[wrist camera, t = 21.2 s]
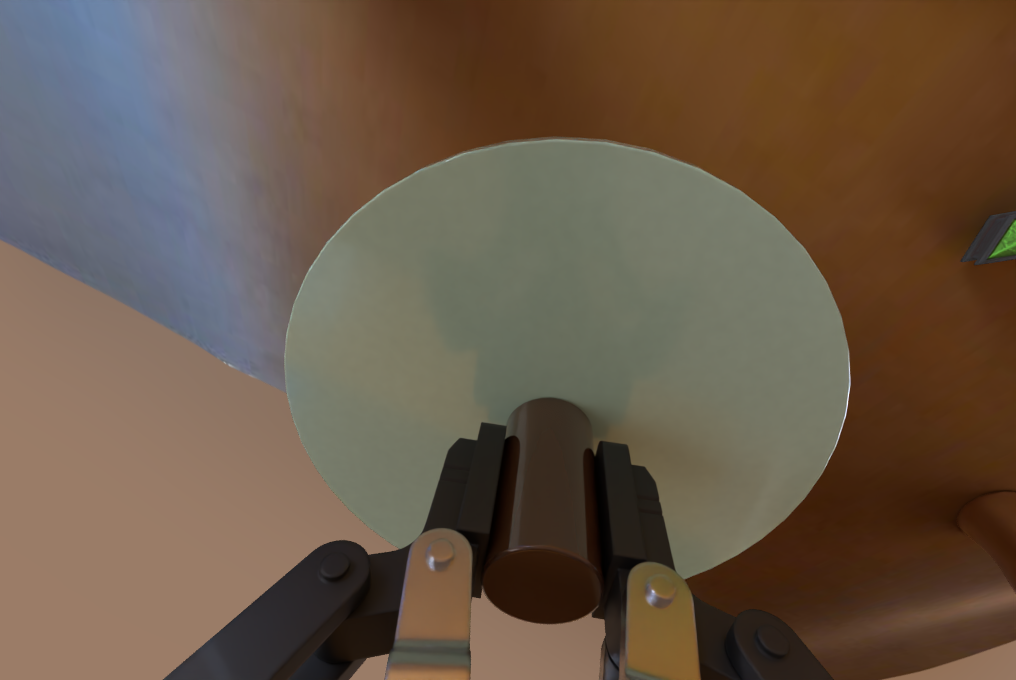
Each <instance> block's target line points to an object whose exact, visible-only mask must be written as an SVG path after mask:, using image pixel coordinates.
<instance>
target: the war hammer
mask: <svg viewBox="0 0 1016 680" xmlns="http://www.w3.org/2000/svg"><path fill="white" fill-rule="evenodd" d="M1013 259H1016V211H1013V212H1008V213H1003V214H997V215H992V216H989V218H988V219H987V221H986V222H985V224H984V226H983V227H982V229H981V230H980V232H979V233H978V235H977V236H976V238H975V239H974V241H973V242H972V244H971V246H970V247H969V249H968V250H967V252H966V253H965V255H964V256H963V258H962V259H961V261H960V262H966V261H972V260H977V261H976V262H975V264H974V265H980V264H987V263H994V262H1000V261H1007V260H1013Z"/></svg>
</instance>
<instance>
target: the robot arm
mask: <svg viewBox="0 0 1016 680" xmlns="http://www.w3.org/2000/svg"><path fill="white" fill-rule="evenodd" d="M506 430H507V426H505V425H498V424H492V423H485V422H481V426H480V430H479V434H478V438H477V440H472V439H465V438H459V439H458V440H457V441H456V442H455V443H454V444H453V445H452V446H451V447H450V448H449V449H448V452H447V455H446V459H445V462H444V466H443V468H442V472H441V475H440V479H439V481H438V485H437V488H436V491H435V495H434V498H433V501H432V504H431V508H430V511H429V514H428V517H427V521H426V524H425V527H424V529H423V531H422V532H421V534H420V535H419V536H418V537H417V538H416V539H415V540H414V541H413V542H412V543H411V544H409V545H408V546H406V547H404V548H402V549H399V550H396V551H391V552H385V553H378V554H371V555H368V554H367V552H366V551H365V549H364V548H363V547H361V546H360V545H359V544H357V543H354V542H351V541H346V540H339V541H333V542H329V543H327V544H324V545H322V546H320V547H318V548H317V549H315V550H314V551H313V552H312V553H310V554H309V555H308V556H307V557H306V558H304V559H303V560H302V561H301V562H300V563H299V564H298V565H296V566H295V567H294V568H293V569H292V570H291V571H289V572H288V573H287V574H286V575H285V576H283V577H282V578H281V579H280V580H279V581H278V582H277V583H275V584H274V585H273V586H272V587H271V588H269V589H268V590H267V591H266V592H265V593H264V594H262V596H260V597H259V598H258V599H257V600H255V601H254V602H253V603H252V604H251V605H250V606H248V607H247V608H246V609H245V610H244V611H243V612H241V613H240V614H239V615H238V616H237V617H236V618H234V619H233V620H232V621H231V622H230V623H229V624H227V625H226V626H225V627H224V628H223V629H221V630H220V631H219V632H218V633H217V634H216V635H215V636H213V637H212V638H211V639H210V640H209V641H207V642H206V643H205V644H204V645H203V646H202V647H201V648H199V649H198V650H197V651H196V652H195V653H193V654H192V655H191V656H190V657H189V658H188V659H186V660H185V661H184V662H183V663H182V664H181V665H180V666H178V667H177V668H176V669H175V670H174V671H172V672H171V673H170V674H169V675H168V676H167V677H166V678H164V679H163V680H349V679H350V678H351V677H352V676H353V674H354V673H355V672H356V671H357V669H358V668H359V667H360V666H361V665H362V664H363V662H364V661H365V660H366V659H367V658H370V657H375V656H380V655H385V654H389V657H388V662H387V668H386V673H385V680H470V673H471V652H470V618H471V600H472V597H476V598H481V592H482V586H481V581H480V578H481V570H482V565H483V562H484V560H485V558H486V555H487V549H488V543H489V536H490V530H491V524H492V518H493V512H494V505H495V499H496V493H497V487H498V481H499V474H500V468H501V462H502V456H503V450H504V443H505V437H506ZM595 464H596V477H597V490H598V502H599V515H600V528H601V541H602V554H603V566H604V579H605V593H604V597H603V599H602V601H601V603H600V605H599V606H598V607H597V608H596V609H595V610H594V611H593V612H592V617H593V618H599V619H605V633H606V636H605V638H604V641H603V644H602V648H601V659H600V673H599V680H834V679H833V678H832V677H831V676H830V675H829V673H828V672H827V671H826V670H825V668H824V667H823V666H822V665H821V664H820V662H819V661H818V660H817V659H816V658H815V656H814V655H813V654H812V653H811V651H810V650H809V649H808V648H807V647H806V645H805V644H804V643H803V642H802V641H801V639H800V638H799V637H798V636H797V634H796V633H795V632H794V631H793V630H792V629H791V628H790V627H789V626H788V625H787V624H786V623H785V622H783V621H782V620H780V619H779V618H777V617H776V616H774V615H772V614H770V613H768V612H765V611H762V610H756V609H750V610H745V611H743V612H741V613H740V614H739V615H738V616H737V618H736V617H734V616H732V615H730V614H727V613H725V612H723V611H721V610H719V609H717V608H715V607H713V606H710V605H708V604H707V603H705V602H703V601H701V600H700V599H698V598H697V597H696V596H695V595H693V594H692V593H691V591H690V588H689V587H688V585H687V583H686V582H685V581H684V579H683V578H682V577H681V576H680V575H679V574H678V573H677V572H676V570H675V566H674V562H673V557H672V553H671V548H670V544H669V539H668V535H667V530H666V526H665V521H664V517H663V516H662V508H661V503H660V502H659V494H658V490H657V485H656V482H655V480H654V479H653V477H652V476H651V475H650V473H649V472H648V470H647V469H646V467H644V466H638V465H631V459H630V453H629V448H628V445H627V444H620V443H614V442H607V441H600V442H599V444H598V447H597V451H596V454H595Z"/></svg>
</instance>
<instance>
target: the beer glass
mask: <svg viewBox="0 0 1016 680" xmlns="http://www.w3.org/2000/svg"><path fill="white" fill-rule="evenodd" d="M957 524H958V526H959V528H960V529H961V530H962V531H963V532H964V533H965V534H966V535H967V536H969V537H970V538H971V539H972V540H973V541H975V542H976V543H977V544H978V545H979V546H981V547H982V548H983V549H984V550H985V551H986V552H987V553H988V554H989V555H990V556H991V557H992V559H993V560H994V561H995V563H996V564H997V565H998V566H999V568H1000V569H1001V571H1002V572H1003V574H1004V576H1005V577H1006V579H1007V580H1008V582H1009V584H1010V585H1011V587H1012V589H1013V590H1014V592H1015V593H1016V492H1010V491H1002V492H994V493H990V494H986V495H983V496H980V497H978V498H976V499H974V500H972V501H971V502H969V503H968V504H966V505H965V506H964V507H963V508H962V509H961V510H960V512H959V514H958V516H957Z"/></svg>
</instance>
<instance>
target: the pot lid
mask: <svg viewBox="0 0 1016 680" xmlns="http://www.w3.org/2000/svg"><path fill="white" fill-rule="evenodd" d="M284 367H285V381H286V392H287V396H288V401H289V405H290V409H291V414H292V418H293V421H294V423H295V426H296V429H297V431H298V434H299V436H300V439H301V442H302V444H303V446H304V448H305V450H306V452H307V453H308V455H309V457H310V459H311V461H312V463H313V464H314V466H315V468H316V469H317V471H318V472H319V474H320V475H321V476H322V478H323V479H324V481H325V482H326V483H327V485H328V486H329V488H330V489H331V490H332V491H333V493H334V494H335V495H336V496H337V497H338V498H339V499H340V500H341V501H342V503H343V504H344V505H345V506H346V507H347V508H348V509H349V510H350V511H351V512H352V513H353V514H354V515H355V516H357V517H358V518H359V519H360V520H361V521H362V522H363V523H364V524H366V525H367V526H368V527H369V528H370V529H371V530H373V531H374V532H375V533H377V534H378V535H380V536H381V537H382V538H384V539H385V540H387V541H388V542H389V543H391V544H392V545H394V546H395V547H397V548H399V549H402V548H404V547H406V546H408V545H409V544H411V543H412V542H413V541H414V540H415V539H416V538H417V537H418V536H419V535H420V534H421V532H422V531H423V529H424V527H425V524H426V521H427V517H428V514H429V511H430V508H431V504H432V501H433V498H434V495H435V491H436V488H437V485H438V481H439V479H440V475H441V472H442V468H443V466H444V462H445V459H446V455H447V452H448V449H449V448H450V447H451V446H452V445H453V444H454V443H455V442H456V441H457V440H458V439H459V438H465V439H472V440H477V438H478V434H479V430H480V426H481V422H485V423H492V424H498V425H505V426H507V430H506V437H505V443H504V450H503V456H502V462H501V468H500V474H499V481H498V487H497V493H496V499H495V505H494V512H493V518H492V524H491V530H490V536H489V543H488V549H487V555H486V558H485V560H484V562H483V565H482V570H481V578H480V581H481V586H482V589H483V592H484V594H485V596H486V597H487V599H488V600H489V601H490V602H491V603H492V604H493V605H494V606H495V607H496V608H498V609H499V610H500V611H502V612H504V613H505V614H508V615H510V616H511V617H514V618H517V619H520V620H523V621H526V622H531V623H537V624H563V623H569V622H572V621H576V620H579V619H581V618H584V617H586V616H587V615H589V614H590V613H592V612H593V611H594V610H595V609H596V608H597V607H598V606H599V605H600V603H601V601H602V599H603V597H604V593H605V579H604V566H603V554H602V541H601V528H600V515H599V502H598V490H597V477H596V464H595V454H596V451H597V447H598V444H599V442H600V441H607V442H614V443H620V444H627V445H628V448H629V453H630V459H631V465H638V466H644V467H646V469H647V470H648V472H649V473H650V475H651V476H652V477H653V479H654V480H655V482H656V485H657V490H658V494H659V502H660V503H661V508H662V516H663V517H664V521H665V526H666V530H667V535H668V539H669V544H670V548H671V553H672V557H673V562H674V566H675V570H676V572H677V573H678V574H679V575H680V576H681V577H682V578H683V579H686V578H689V577H691V576H694V575H696V574H699V573H701V572H704V571H706V570H709V569H711V568H713V567H715V566H717V565H719V564H721V563H723V562H725V561H727V560H729V559H731V558H733V557H735V556H736V555H738V554H740V553H741V552H743V551H744V550H746V549H747V548H749V547H750V546H752V545H753V544H755V543H756V542H758V541H759V540H761V539H762V538H763V537H765V536H766V535H767V534H768V533H769V532H771V531H772V530H773V529H774V528H775V527H777V526H778V525H779V524H780V523H781V522H783V521H784V520H785V519H786V518H787V517H788V516H789V515H790V514H791V512H792V511H793V510H794V509H795V508H796V507H797V506H798V505H799V504H800V503H801V502H802V501H803V500H804V499H805V497H806V496H807V494H808V493H809V492H810V490H811V489H812V487H813V486H814V485H815V483H816V482H817V480H818V479H819V477H820V476H821V475H822V473H823V471H824V469H825V467H826V465H827V463H828V461H829V459H830V457H831V455H832V453H833V451H834V450H835V448H836V445H837V442H838V439H839V436H840V433H841V430H842V427H843V423H844V420H845V417H846V411H847V404H848V397H849V390H850V364H849V348H848V344H847V339H846V335H845V330H844V326H843V321H842V317H841V314H840V311H839V309H838V307H837V304H836V302H835V300H834V297H833V295H832V293H831V290H830V288H829V286H828V283H827V281H826V280H825V278H824V277H823V275H822V274H821V272H820V270H819V269H818V267H817V266H816V264H815V263H814V261H813V260H812V258H811V257H810V255H809V254H808V252H807V251H806V249H805V248H804V247H803V246H802V245H801V244H800V243H799V241H798V240H797V239H796V238H795V237H794V236H793V235H792V234H791V233H790V232H789V231H788V230H787V229H786V228H785V227H784V226H783V224H782V223H781V222H780V221H779V220H778V219H777V218H776V217H775V216H773V215H772V214H771V213H769V212H768V211H767V210H765V209H764V208H763V207H762V206H760V205H759V204H758V203H756V202H755V201H754V200H752V199H751V198H750V197H748V196H747V195H746V194H744V193H743V192H742V191H741V190H739V189H738V188H736V187H735V186H733V185H731V184H729V183H727V182H726V181H724V180H722V179H720V178H718V177H716V176H714V175H713V174H711V173H709V172H707V171H705V170H703V169H701V168H700V167H698V166H696V165H694V164H691V163H688V162H686V161H683V160H680V159H677V158H674V157H672V156H669V155H666V154H663V153H661V152H658V151H655V150H652V149H649V148H644V147H639V146H634V145H629V144H624V143H619V142H614V141H610V140H605V139H589V138H572V137H546V138H533V139H521V140H510V141H505V142H501V143H496V144H492V145H488V146H483V147H479V148H474V149H470V150H466V151H463V152H460V153H458V154H455V155H453V156H450V157H447V158H445V159H442V160H440V161H437V162H434V163H432V164H429V165H427V166H424V167H423V168H421V169H419V170H417V171H416V172H414V173H412V174H410V175H409V176H407V177H405V178H403V179H402V180H400V181H398V182H396V183H394V184H393V185H391V186H389V187H388V188H386V189H385V190H383V191H382V192H381V193H379V194H378V195H377V196H375V197H374V198H373V199H372V200H370V201H369V202H368V203H367V204H365V205H364V206H363V207H362V208H360V209H359V210H358V211H356V212H355V213H354V214H353V215H352V216H351V217H350V218H349V219H348V220H347V221H346V222H345V223H344V224H343V225H342V226H341V227H340V229H339V230H338V231H337V232H336V233H335V234H334V235H333V236H332V237H331V238H330V239H329V241H328V242H327V243H326V244H325V246H324V247H323V249H322V250H321V252H320V253H319V255H318V257H317V258H316V260H315V261H314V263H313V264H312V266H311V267H310V269H309V270H308V272H307V274H306V276H305V279H304V281H303V283H302V285H301V288H300V290H299V292H298V295H297V297H296V299H295V301H294V305H293V309H292V313H291V317H290V321H289V325H288V329H287V334H286V346H285V358H284Z"/></svg>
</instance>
